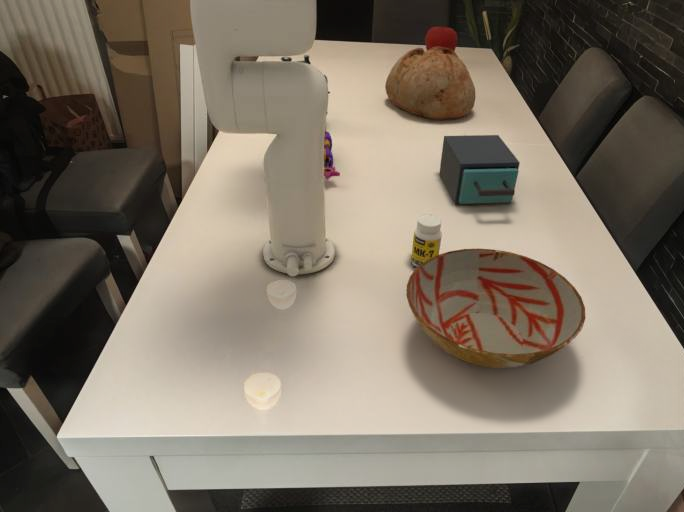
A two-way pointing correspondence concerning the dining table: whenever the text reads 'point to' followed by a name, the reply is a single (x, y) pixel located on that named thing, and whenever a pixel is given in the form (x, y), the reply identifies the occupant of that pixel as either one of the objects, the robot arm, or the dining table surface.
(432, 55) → the bread
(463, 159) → the drawer box
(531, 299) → the bowl
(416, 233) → the supplement bottle
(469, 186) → the teal drawer
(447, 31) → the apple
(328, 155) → the purple toy figure
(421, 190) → the dining table surface
